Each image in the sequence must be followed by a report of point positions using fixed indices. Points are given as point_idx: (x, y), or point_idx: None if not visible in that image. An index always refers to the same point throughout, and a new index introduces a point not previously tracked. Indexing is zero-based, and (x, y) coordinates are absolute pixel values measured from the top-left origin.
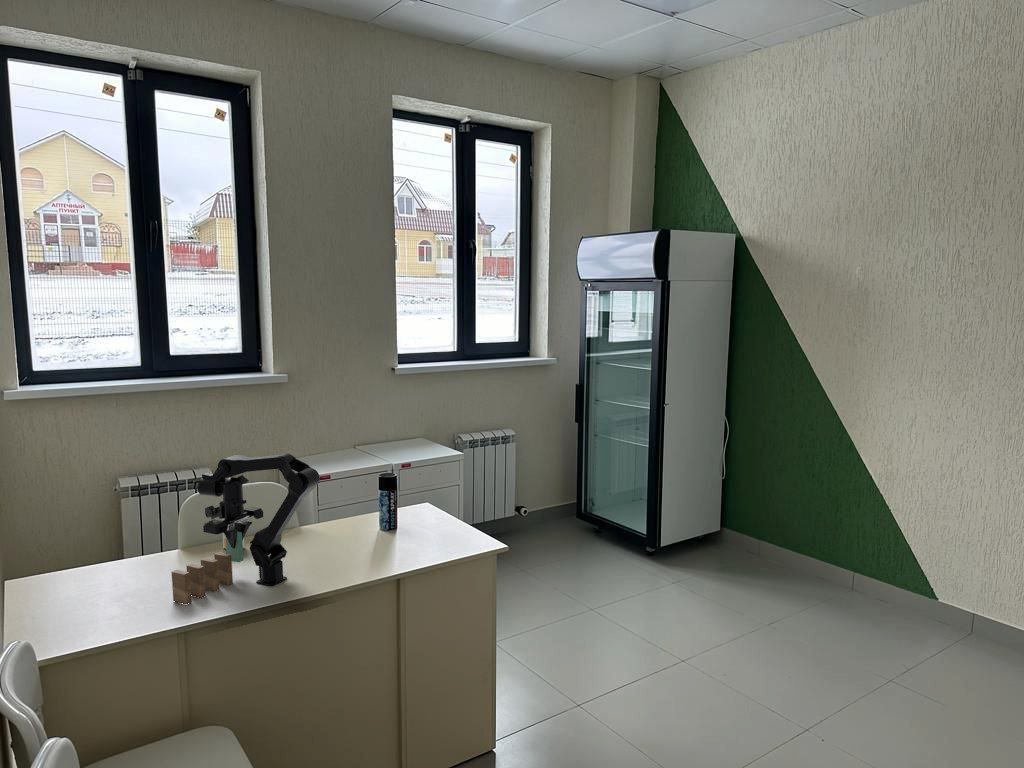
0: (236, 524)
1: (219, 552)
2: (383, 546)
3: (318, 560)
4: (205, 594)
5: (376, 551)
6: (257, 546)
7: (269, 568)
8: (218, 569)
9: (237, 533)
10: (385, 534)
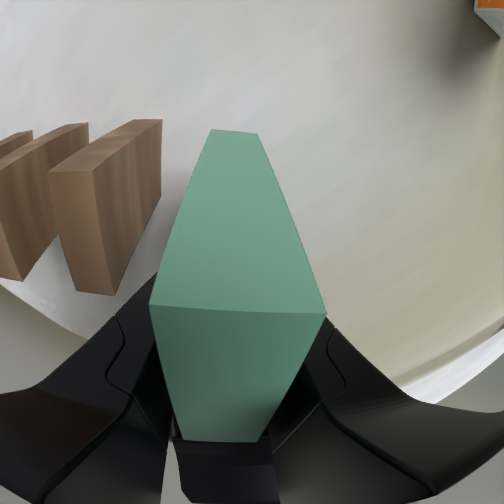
0: (334, 496)
1: (86, 184)
2: (452, 354)
3: (409, 316)
4: None
5: (433, 361)
6: (172, 442)
7: None
8: (48, 244)
9: (196, 438)
10: (500, 324)
